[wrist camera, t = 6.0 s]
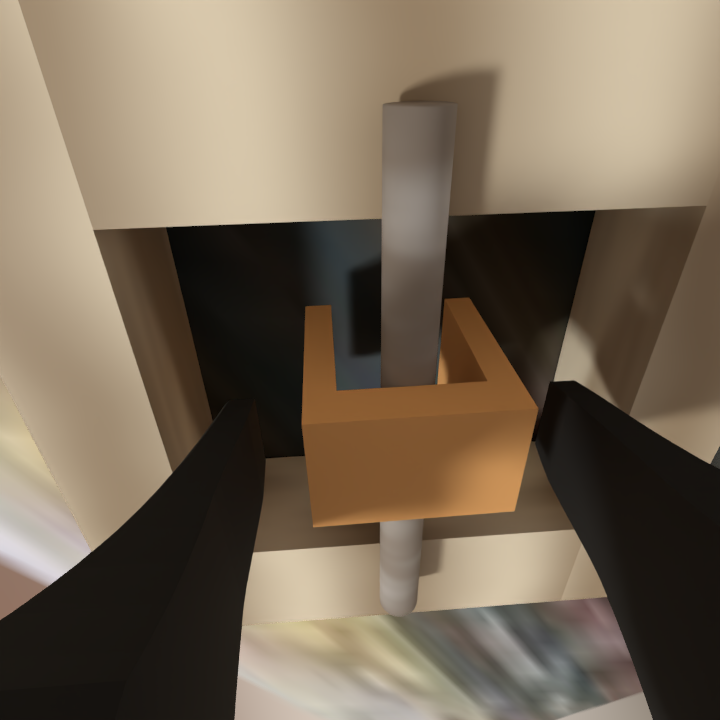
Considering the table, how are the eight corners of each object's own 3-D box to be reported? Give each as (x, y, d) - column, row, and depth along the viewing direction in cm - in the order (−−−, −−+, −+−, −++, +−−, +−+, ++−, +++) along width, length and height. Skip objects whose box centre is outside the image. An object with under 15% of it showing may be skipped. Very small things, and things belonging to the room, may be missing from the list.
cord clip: (469, 297, 14) (538, 408, 9) (459, 383, 15) (514, 511, 11) (305, 306, 13) (301, 424, 9) (313, 393, 15) (313, 527, 11)
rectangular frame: (781, -26, 11) (1087, -76, 7) (589, 505, 21) (661, 627, 16) (-40, -13, 10) (-314, -60, 6) (166, 535, 20) (122, 672, 16)
